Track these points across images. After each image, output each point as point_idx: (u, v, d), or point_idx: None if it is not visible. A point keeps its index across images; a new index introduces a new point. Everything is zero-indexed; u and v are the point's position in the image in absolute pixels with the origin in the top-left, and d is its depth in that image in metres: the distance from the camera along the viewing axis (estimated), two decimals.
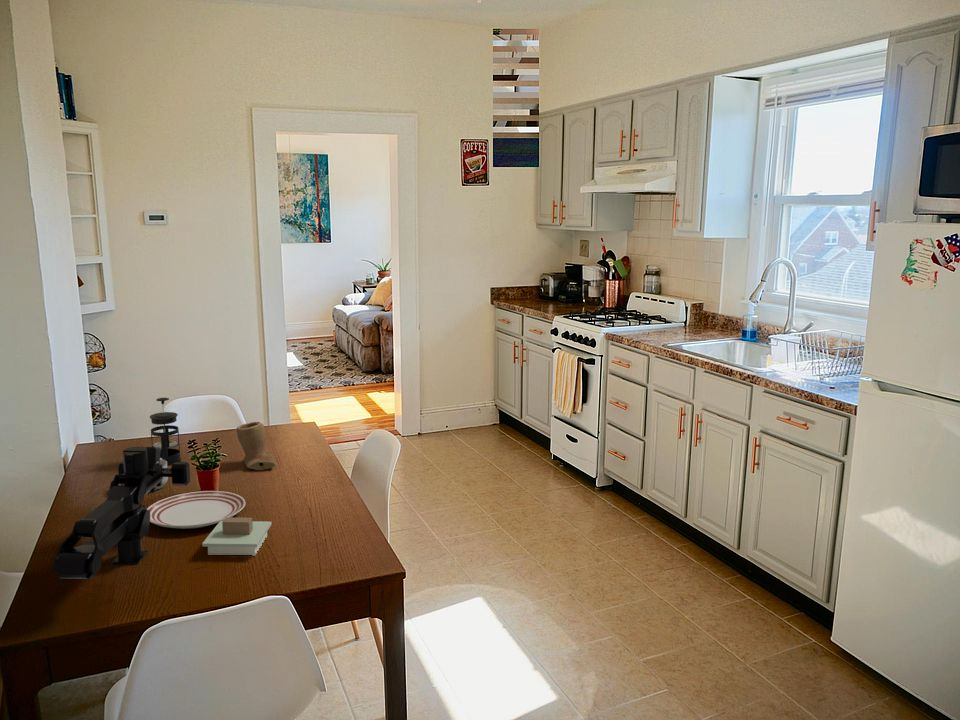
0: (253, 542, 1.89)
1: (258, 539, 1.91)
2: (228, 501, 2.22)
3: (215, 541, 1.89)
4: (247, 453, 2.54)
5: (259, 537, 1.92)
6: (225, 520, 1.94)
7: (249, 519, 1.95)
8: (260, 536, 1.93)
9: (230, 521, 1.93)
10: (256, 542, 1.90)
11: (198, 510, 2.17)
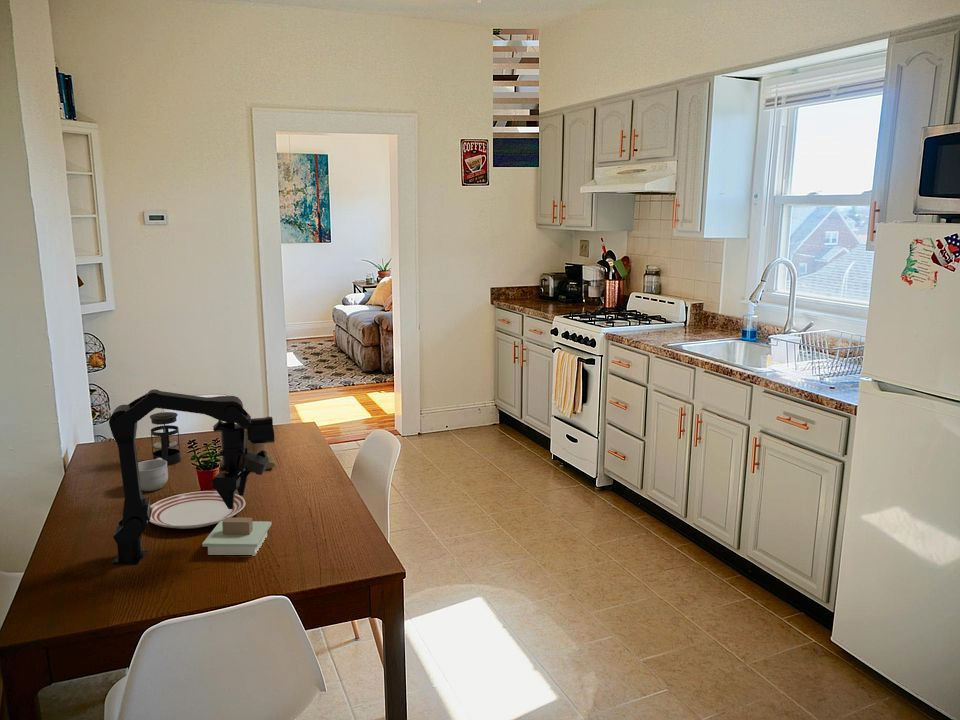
0: (253, 542, 1.89)
1: (258, 539, 1.91)
2: None
3: (215, 541, 1.89)
4: None
5: (259, 537, 1.92)
6: (225, 520, 1.94)
7: (249, 519, 1.95)
8: (260, 536, 1.93)
9: (230, 521, 1.93)
10: (256, 542, 1.90)
11: (198, 510, 2.17)
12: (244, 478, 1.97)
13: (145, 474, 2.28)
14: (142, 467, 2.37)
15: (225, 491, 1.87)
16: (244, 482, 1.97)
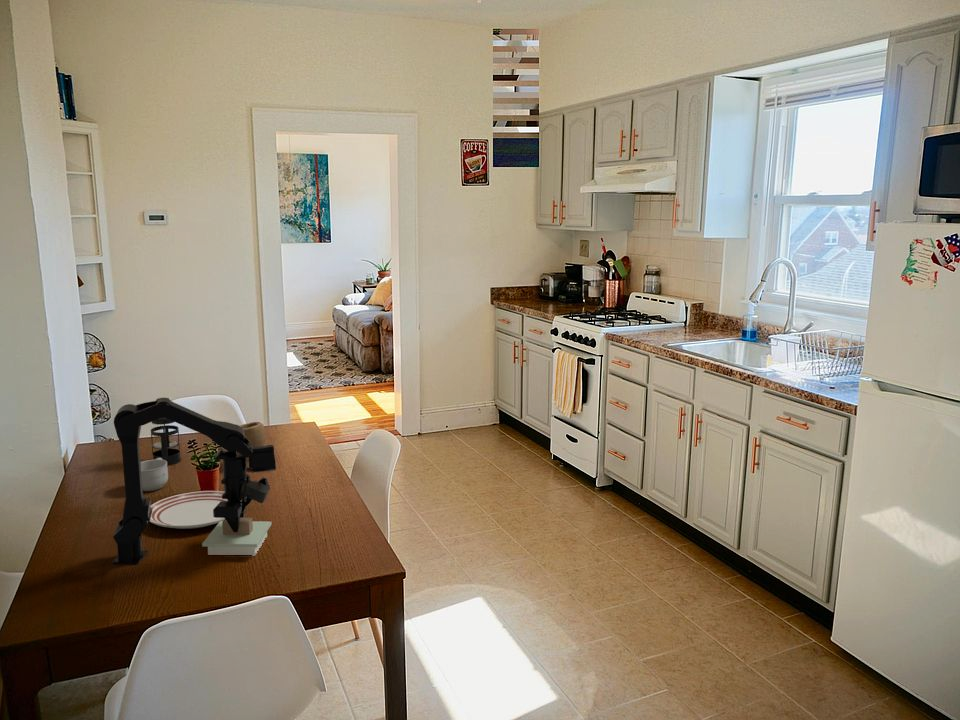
0: (253, 542, 1.89)
1: (258, 539, 1.91)
2: None
3: (215, 541, 1.89)
4: None
5: (259, 537, 1.92)
6: (225, 520, 1.94)
7: (249, 519, 1.95)
8: (260, 536, 1.93)
9: None
10: (256, 542, 1.90)
11: (198, 510, 2.17)
12: None
13: (145, 474, 2.28)
14: (142, 467, 2.37)
15: None
16: (242, 513, 1.96)
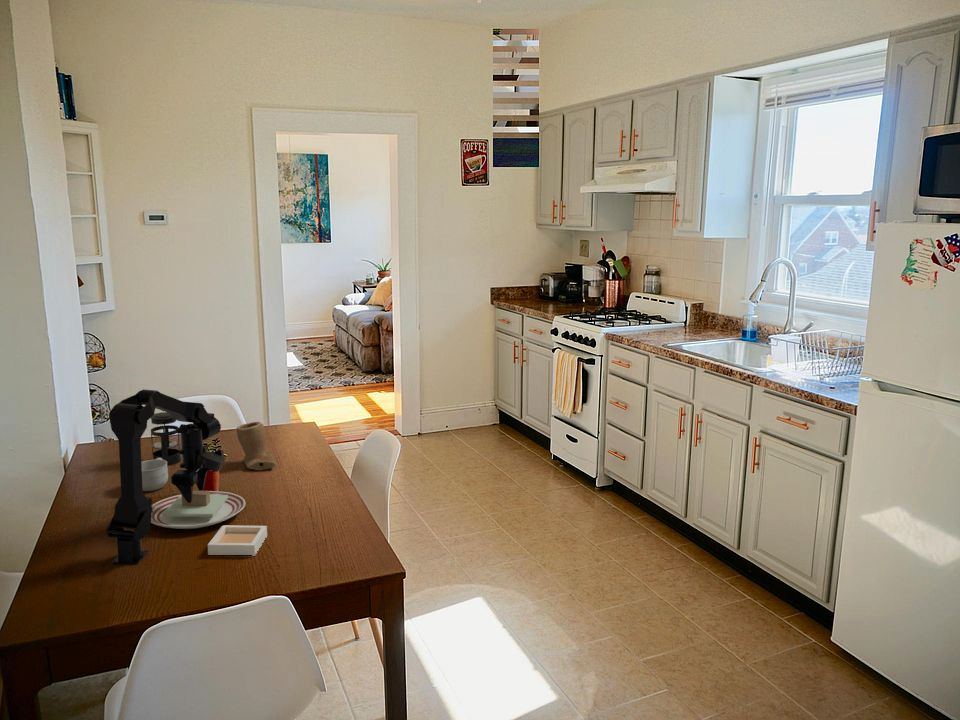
0: (209, 512, 2.07)
1: (214, 509, 2.09)
2: (228, 501, 2.22)
3: (174, 511, 2.07)
4: (247, 453, 2.54)
5: (215, 508, 2.10)
6: None
7: (206, 492, 2.13)
8: (216, 507, 2.11)
9: None
10: (212, 512, 2.08)
11: None
12: (203, 475, 2.17)
13: (145, 474, 2.28)
14: (142, 467, 2.37)
15: (184, 486, 2.06)
16: (203, 478, 2.17)
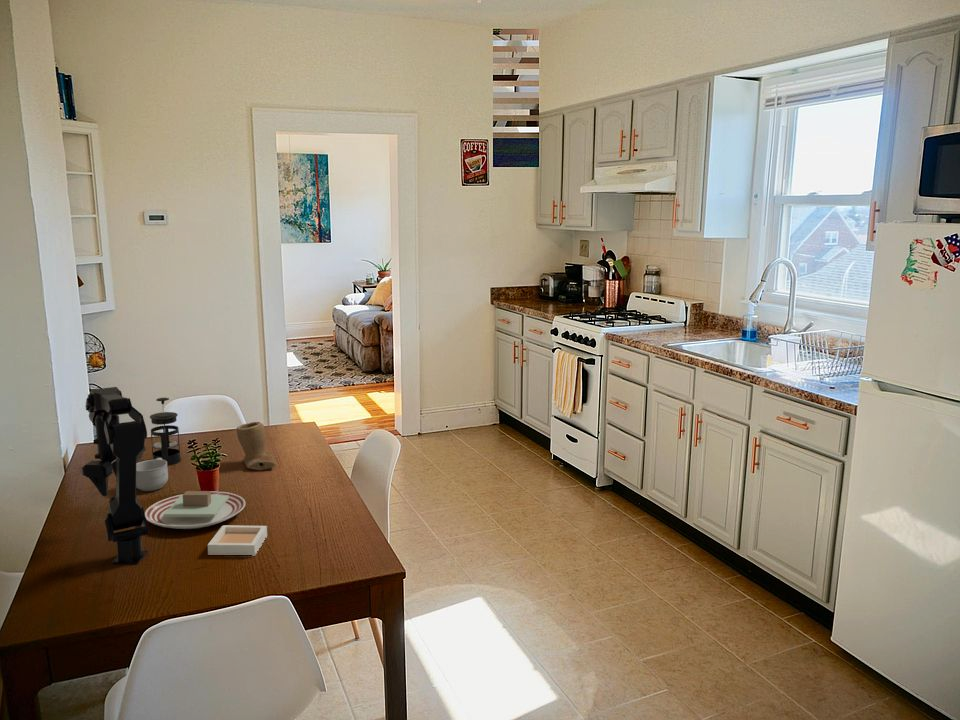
0: (210, 513, 2.07)
1: (215, 510, 2.09)
2: (228, 501, 2.22)
3: (175, 512, 2.07)
4: (247, 453, 2.54)
5: (216, 508, 2.10)
6: (185, 493, 2.12)
7: (207, 492, 2.13)
8: (217, 507, 2.11)
9: (190, 494, 2.11)
10: (214, 512, 2.08)
11: None
12: None
13: (145, 474, 2.28)
14: (142, 467, 2.37)
15: (98, 478, 1.92)
16: None
